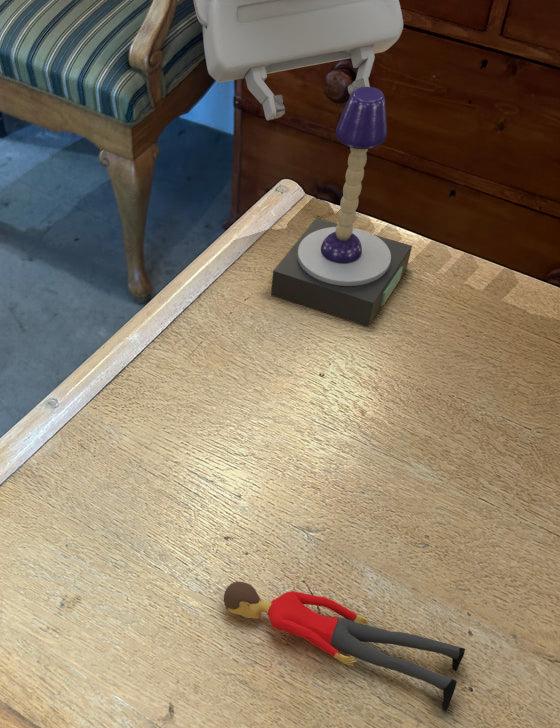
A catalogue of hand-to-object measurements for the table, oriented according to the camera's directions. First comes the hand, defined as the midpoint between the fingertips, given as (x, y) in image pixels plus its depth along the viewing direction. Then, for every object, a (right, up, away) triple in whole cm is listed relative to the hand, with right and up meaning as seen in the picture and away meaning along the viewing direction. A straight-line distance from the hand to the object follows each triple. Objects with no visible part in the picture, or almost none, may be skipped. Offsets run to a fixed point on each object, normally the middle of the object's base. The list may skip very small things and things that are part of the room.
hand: (319, 108), depth 90 cm
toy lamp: (+3, -14, +3) cm, 14 cm away
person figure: (+6, -53, -25) cm, 59 cm away
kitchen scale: (+3, -16, +6) cm, 17 cm away
